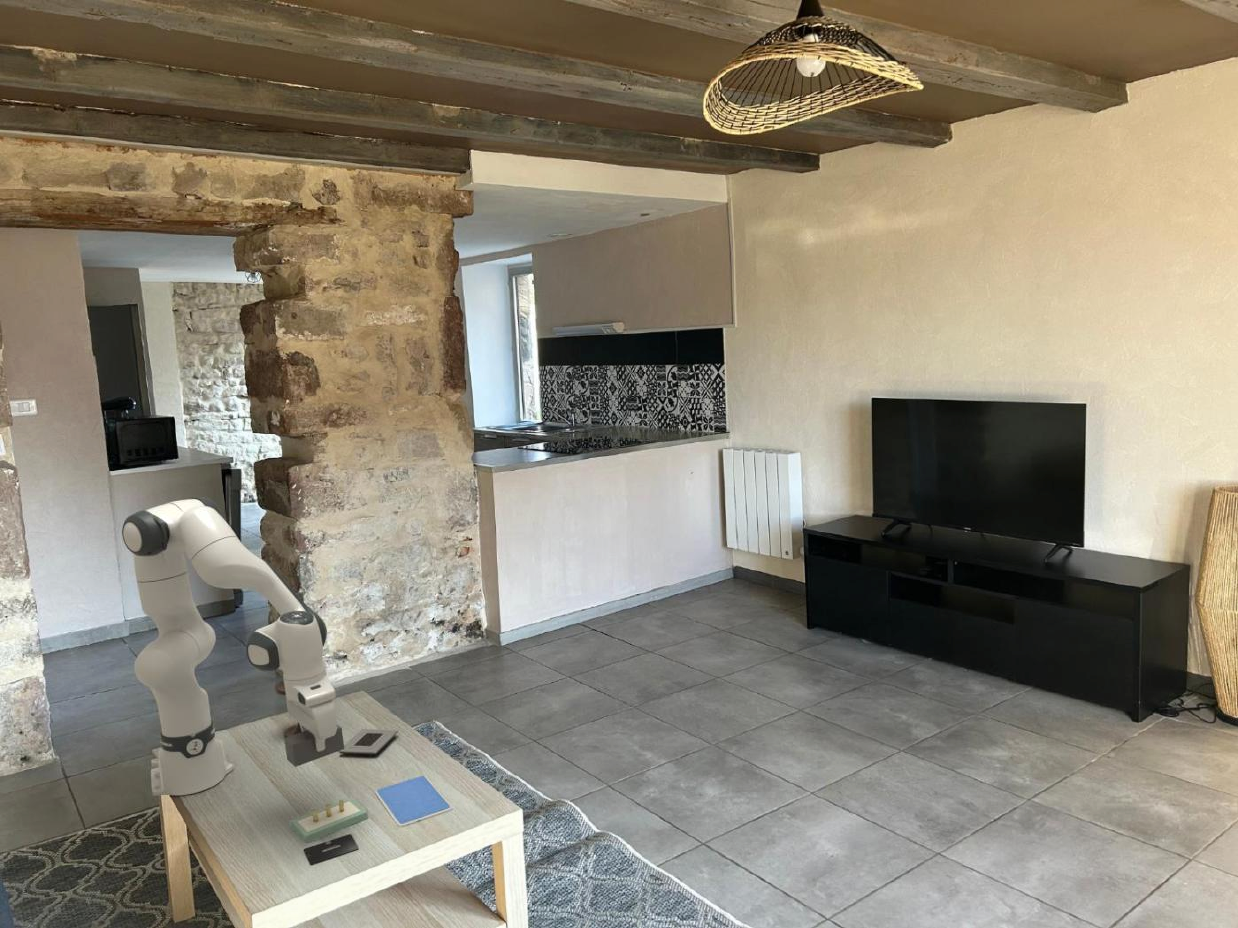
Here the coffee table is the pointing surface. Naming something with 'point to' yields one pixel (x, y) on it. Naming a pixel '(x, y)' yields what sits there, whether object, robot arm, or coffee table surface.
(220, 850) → the coffee table surface
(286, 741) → the block
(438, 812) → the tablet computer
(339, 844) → the solid state drive
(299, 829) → the header board
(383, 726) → the coffee table surface
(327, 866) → the coffee table surface
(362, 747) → the grey flat piece
